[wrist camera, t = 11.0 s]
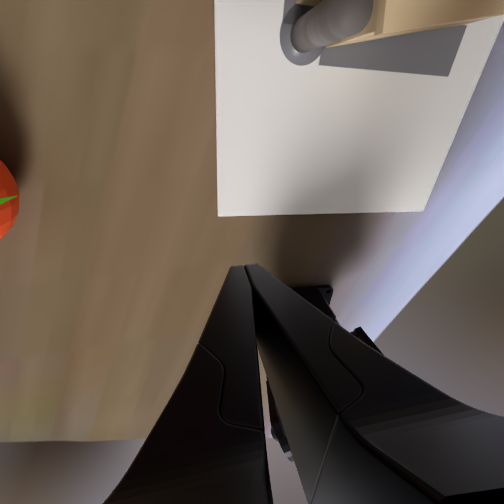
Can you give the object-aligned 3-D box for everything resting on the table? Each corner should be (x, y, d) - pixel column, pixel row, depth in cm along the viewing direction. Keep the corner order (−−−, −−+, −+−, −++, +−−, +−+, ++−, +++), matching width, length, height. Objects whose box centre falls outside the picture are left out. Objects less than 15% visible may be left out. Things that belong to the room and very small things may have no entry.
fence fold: (472, -14, 15) (598, -61, 10) (462, 28, 16) (573, 1, 11) (325, 9, 14) (389, -31, 9) (325, 51, 15) (382, 33, 10)
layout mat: (419, 209, 23) (423, 211, 23) (217, 214, 20) (218, 216, 19) (577, -170, 13) (590, -179, 12) (209, -294, 9) (209, -312, 9)
